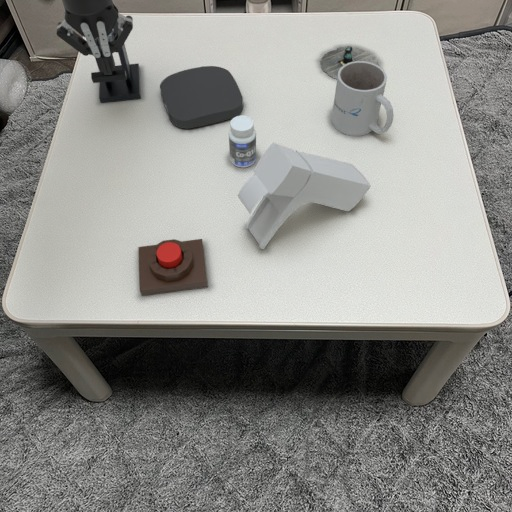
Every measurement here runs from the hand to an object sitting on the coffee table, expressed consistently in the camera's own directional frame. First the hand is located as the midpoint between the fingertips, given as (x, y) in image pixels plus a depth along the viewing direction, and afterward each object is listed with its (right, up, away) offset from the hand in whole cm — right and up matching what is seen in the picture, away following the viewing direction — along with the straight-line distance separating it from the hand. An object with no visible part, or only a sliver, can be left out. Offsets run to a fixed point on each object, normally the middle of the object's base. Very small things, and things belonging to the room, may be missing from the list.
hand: (108, 72), depth 92 cm
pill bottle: (+24, -15, +2) cm, 29 cm away
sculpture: (+46, +8, +17) cm, 50 cm away
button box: (+14, -35, -12) cm, 39 cm away
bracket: (-1, +2, +14) cm, 14 cm away
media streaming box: (+16, -2, +11) cm, 19 cm away
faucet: (+34, -27, -6) cm, 44 cm away
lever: (-1, +4, +4) cm, 5 cm away
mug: (+46, -8, +6) cm, 47 cm away
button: (+14, -33, -14) cm, 39 cm away
